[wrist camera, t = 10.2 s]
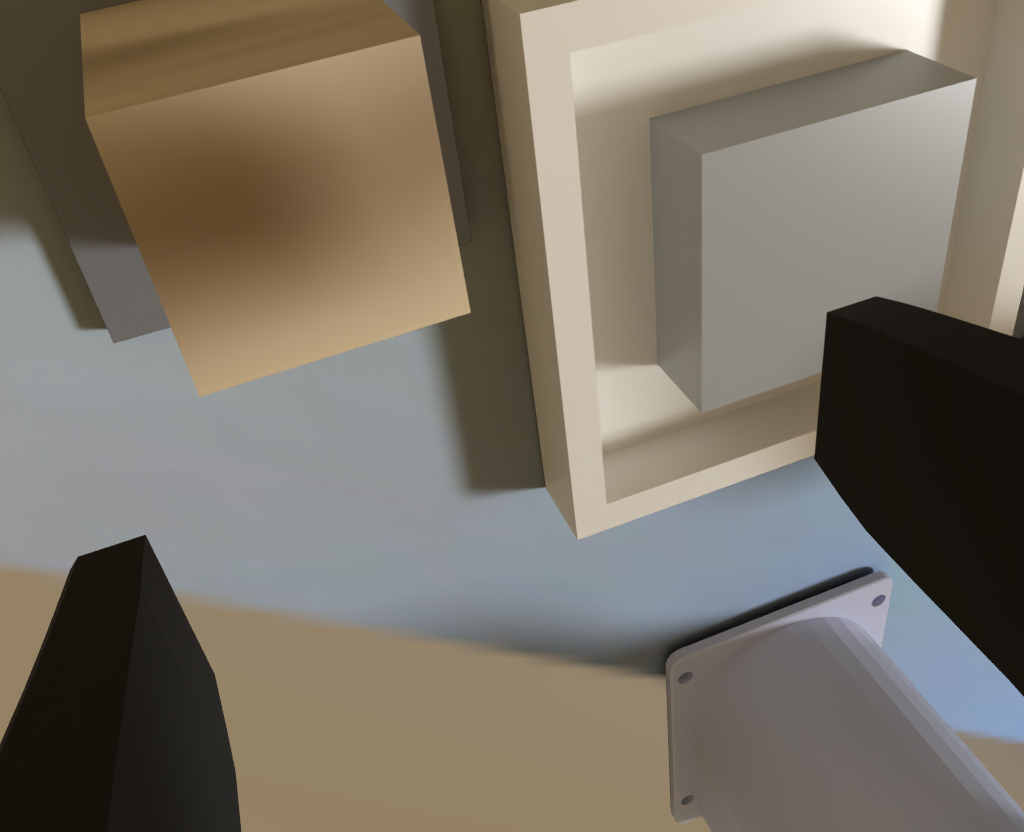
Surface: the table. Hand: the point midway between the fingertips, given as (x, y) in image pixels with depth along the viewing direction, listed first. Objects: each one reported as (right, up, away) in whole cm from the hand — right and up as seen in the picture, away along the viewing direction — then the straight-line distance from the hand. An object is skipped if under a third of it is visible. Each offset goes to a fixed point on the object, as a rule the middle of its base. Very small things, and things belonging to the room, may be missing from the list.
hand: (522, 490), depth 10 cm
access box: (+6, +5, +12) cm, 14 cm away
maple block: (-5, +6, +6) cm, 10 cm away
